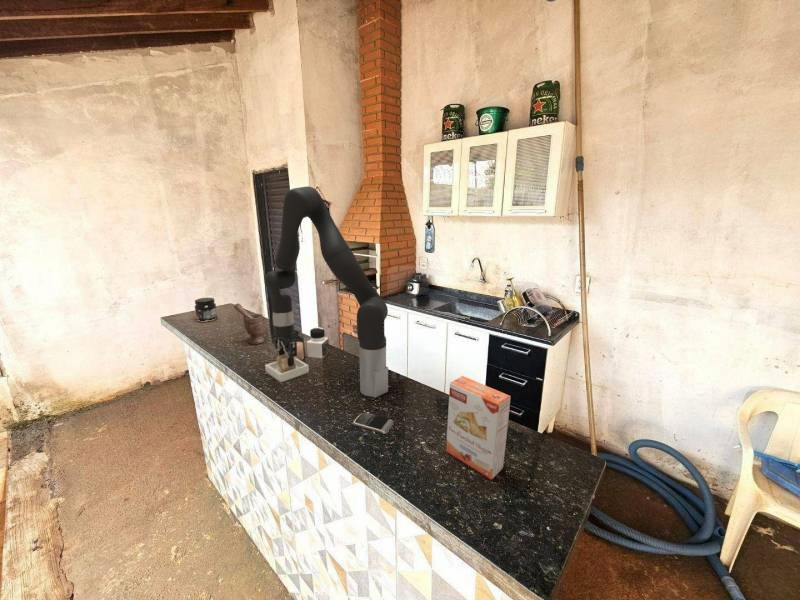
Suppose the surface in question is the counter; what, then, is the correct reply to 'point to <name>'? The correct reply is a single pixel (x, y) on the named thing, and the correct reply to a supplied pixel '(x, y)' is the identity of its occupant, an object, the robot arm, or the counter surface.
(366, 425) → the cell phone
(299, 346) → the peach rounded capsule
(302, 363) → the white tray
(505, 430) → the cracker box
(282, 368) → the maple block
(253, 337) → the mortar and pestle
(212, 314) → the supplement container
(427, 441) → the counter surface
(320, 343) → the medicine bottle
